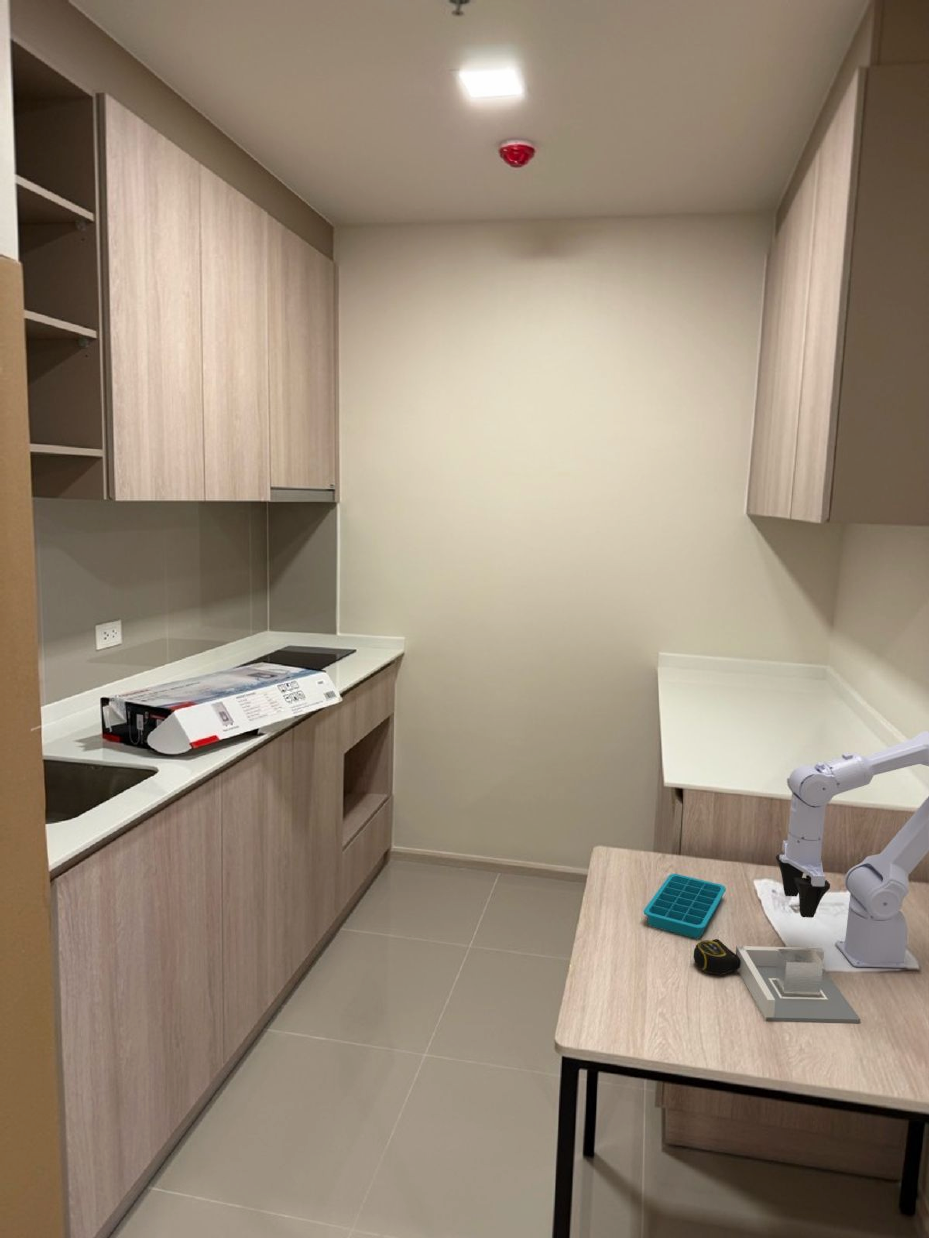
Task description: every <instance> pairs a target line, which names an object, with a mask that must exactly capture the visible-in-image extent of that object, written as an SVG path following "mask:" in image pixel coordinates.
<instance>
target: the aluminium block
mask: <svg viewBox="0 0 929 1238" xmlns="http://www.w3.org/2000/svg"><path fill="white" fill-rule="evenodd" d="M823 969H824V961H823V962H822V961H821V959H820V958H819V957H818V955H817V954H816V952H815V951H814V950H797V949H778V956H777V967H776V978H775V982H776V984H777V986H778V987H779V989H780V991H781V992H782V994H783V996H817V997H820V990H821V980H822V970H823Z"/></svg>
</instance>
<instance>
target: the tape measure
mask: <svg viewBox="0 0 929 1238" xmlns="http://www.w3.org/2000/svg"><path fill="white" fill-rule="evenodd" d="M693 960H694V963H695V965H696V966H697V967H698V968H699V969H701V970H703V971H705V972H707V973H708V974H713V975H725V974H727V973H731V972H735V971H738V970H737V969H738V968H740V959H739V957H738V956H737V955H736V952H735V953H734V952H733V951H732V950H731V949H730V948H729V947H727V946H726V945H725V944H724V943H723V942H722V941H721V940H720V939H719V938H715V939H712V940H709V939H707V940H706V939H704V940H701V941H699V942H698V943H697V944H695V948H694V949H693Z"/></svg>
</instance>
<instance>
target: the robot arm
mask: <svg viewBox="0 0 929 1238" xmlns="http://www.w3.org/2000/svg"><path fill="white" fill-rule="evenodd" d="M916 765H922V766H926V767H929V730H927V731H922V732H919V733H918V734H917V735H916V736H915V737H913V738H910V739H908V740H906V741H903V742H900V743H898V744H895V745H893V746H890V747H887V748H885V749H882V750H880V751H876V752H874V753H872V754H871V753H870V754H869V755H866V756H863V755H861V754H860V753H857V752H853V753H851V752H850V751H846V752H843V753H842V754H841V757H838V758H835V759H832V760H829V761H824V762H822V761H819V762H816V763H815V766H812V765H809V764H803V765H799V766H797V767H795V769H793V771H792V772H790V775H789V777H787V778H786V783H787V787H788V788H789V790H790V791H791V800H790V809H789V817H788V818H789V819H788V831H787V832H788V834H787V840H782V848H781V850H782V852H783V854H777V855H776V856H775V859H776V861H777V865H778V866H779V869H780V874H781V879H782V880H781V881H782V886H783V893H784V896H785V897H798V901H799V902H798V903H799V905H798V906H799V907H798V908H799V914H800V917H801V918H814V916H815V915H816V912H817V910H818V907H819V904H820V902H821V900H822V899H823V897H824V895H825V894H826V893H827V892H828V891H829V890H830V889H831V884H830V882H829V881H828V880H826V875H825V874H824V872H823V860H822V859H821V858H822V849H823V838H824V828H825V820H826V819H825V818H826V807H827V806H826V805H828V803H830V802H831V800H832V799H833V798H834V796H838V794H839V795H840V794H842V793H845V792H848V791H849V792H850V791H852V790H856V789H857V788H861V787H862V788H863V787H864V786H868V785H869V784H870V783H871V782H872V780H873V778H874V776H877V775H879V774H884V773H887V772H892V771H895V770H900V769H905V768H908V767H912V766H916ZM928 853H929V795H928V797H926V799H925V800H924V801H923V803H921V805H920V806H918V808H917V810H916V811H915V812H913V815H911V816H910V818H909V819H908V820H907V821H906V822H905V824H903V826H902V827H901V828H900V830H899V831H898V832H897V833H896V835H895V836H894V837H893V838H892V839H891V840H890V841H889V843H888V844H887V845H886V846H885V847H884V849H883V850H882V851H881V852H880V853H878V854H871V855H868V856H866V857H865V859H863V861H862V862H860V863H859V864H857V865H854V866H853V867H851V868H850V869H848V871H847V872H846V874H845V876H844V886H845V888H846V890H847V891H848V893H849V902H848V909H847V910H848V911H847V920H846V922H847V923H846V928H845V929H846V931H845V940H836V941H835V945H836V946H837V947H838V949H839V950H840V951H841V952H842V954H843V955H844V957H846V959H847V960H848V961H849V963H850V964H851V965H852V966H853V967H857V968H858V967H860V968H861V967H862V968H896V969H897V968H904V969H905V968H907V964H906V962H905V959H906V950H907V942H908V936H909V934H908V933H909V932H908V930H909V929H908V923H907V920H906V917H905V916H904V914H903V912H902V911H901V908H902V905H903V902H904V900H905V897H906V896H907V895H908V894H909V892H910V885H909V883H910V882H909V875H910V874H911V873H912V872H913V870H914V869H915V868H916V867H917V866H918V865H919V863H921V861H922V860H923V858H925V856H926V855H927V854H928ZM804 874H805V876H806V877H803V875H804Z"/></svg>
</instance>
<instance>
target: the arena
mask: <svg viewBox="0 0 929 1238" xmlns="http://www.w3.org/2000/svg"><path fill="white" fill-rule="evenodd" d="M778 949H797V950H814V951H815V952H816V954H817V955H818V957H819V958H820V959H821V961H822V962H823V963H824V960H825V959H824V958H825V950H823V948H822V947H798V946H797V947H793V946H790V947H789V946H782V947H781V946H756V945H753V946H752V945H751V946H750V945H749V946H748V945H736V948H735V954H736V955H737V956H738V957H739V959H740V968H738V969H737V970H736V971H737V972H738V973H739V975H740V977H741V979H742V981H743V983H744V984H745V986H746V988H747V989H748V992H749V993H750V995H751V997H752V999H753V1000H754V1002H755V1004H756V1005H757V1007H758V1010H759V1011H760V1013H761V1014H762V1017H763V1018H764V1020H765V1021H767V1022H772V1021H773V1022H799V1023H800V1022H803V1023H805V1022H806V1023H808V1022H809V1023H810V1022H811V1023H840V1024H841V1023H847V1024H851V1023H852V1024H853V1023H854V1024H861V1020H862V1019H861V1018H860V1017H859V1015H858V1014H857V1012H856V1011H855V1010H854V1009H853V1006H851V1004H850V1003H849V1001H848V1000H847V999H846V997H845V995H843V993H842V992H841V990H840V989H839V988H838V987H837V985H836V984H835V982H834V981H833V980H832V978H831V977H830V976H829V974H828V972H827V971H826V970H825V969H824V968H823V970H822V980H821V990H820V997H817V996H783V994H782V992H781V991H780V989H779V987H778V986H777V984H776V982H775V978H776V967H777V956H778Z"/></svg>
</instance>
